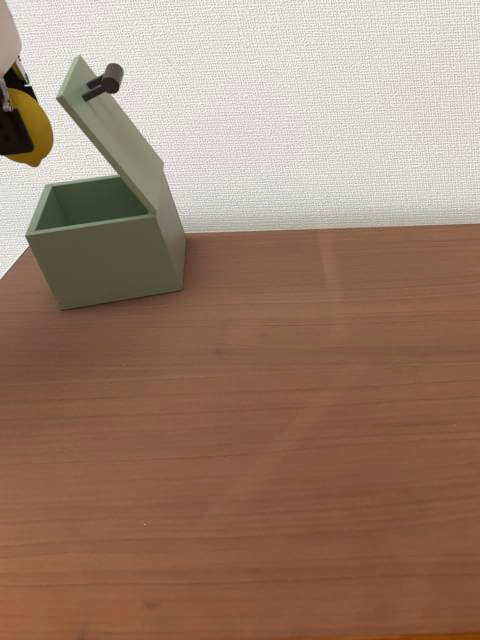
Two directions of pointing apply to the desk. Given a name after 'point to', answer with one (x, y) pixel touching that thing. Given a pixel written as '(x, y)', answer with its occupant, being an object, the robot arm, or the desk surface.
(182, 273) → the chest
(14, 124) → the robot arm
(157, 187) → the lid
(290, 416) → the desk surface
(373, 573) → the desk surface
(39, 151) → the lemon
